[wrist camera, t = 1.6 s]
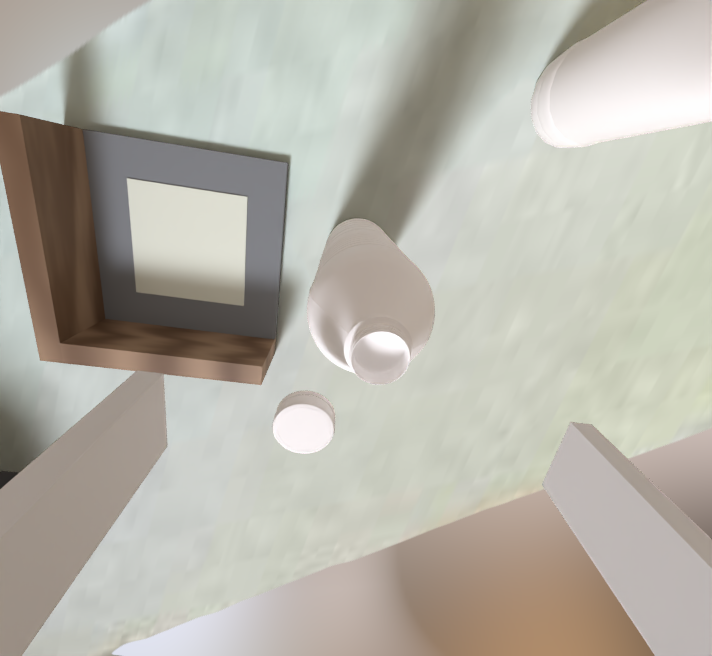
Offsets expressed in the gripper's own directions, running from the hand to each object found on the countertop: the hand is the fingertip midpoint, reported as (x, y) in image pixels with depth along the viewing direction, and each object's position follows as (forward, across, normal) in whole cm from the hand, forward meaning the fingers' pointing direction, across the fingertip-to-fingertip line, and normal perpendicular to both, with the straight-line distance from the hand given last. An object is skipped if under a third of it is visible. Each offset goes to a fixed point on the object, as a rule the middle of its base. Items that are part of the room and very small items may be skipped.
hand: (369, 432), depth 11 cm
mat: (+27, -16, 0) cm, 32 cm away
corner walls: (+27, -17, -1) cm, 32 cm away
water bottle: (+27, 0, +1) cm, 27 cm away
